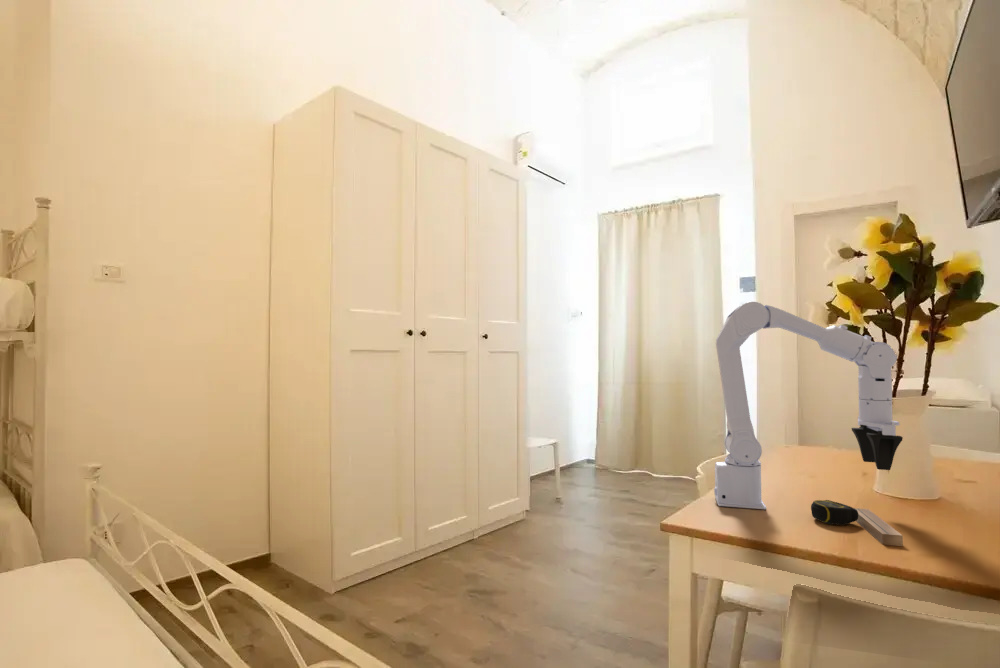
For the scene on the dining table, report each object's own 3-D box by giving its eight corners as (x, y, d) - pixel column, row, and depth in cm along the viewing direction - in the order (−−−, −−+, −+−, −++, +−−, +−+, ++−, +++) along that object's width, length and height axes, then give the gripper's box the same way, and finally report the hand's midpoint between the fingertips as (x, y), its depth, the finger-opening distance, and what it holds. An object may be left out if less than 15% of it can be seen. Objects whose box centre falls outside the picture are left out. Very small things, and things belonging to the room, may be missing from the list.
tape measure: (860, 526, 103) (860, 506, 103) (833, 529, 101) (833, 509, 101) (829, 516, 109) (828, 497, 109) (803, 519, 107) (802, 500, 107)
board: (882, 544, 93) (882, 533, 93) (851, 516, 108) (851, 507, 108) (903, 546, 92) (902, 535, 92) (868, 518, 107) (868, 508, 107)
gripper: (913, 403, 103) (914, 474, 102) (883, 397, 117) (885, 459, 116) (871, 402, 105) (872, 472, 104) (846, 396, 119) (847, 457, 118)
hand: (876, 465), depth 110 cm, fingers open, 7 cm apart
